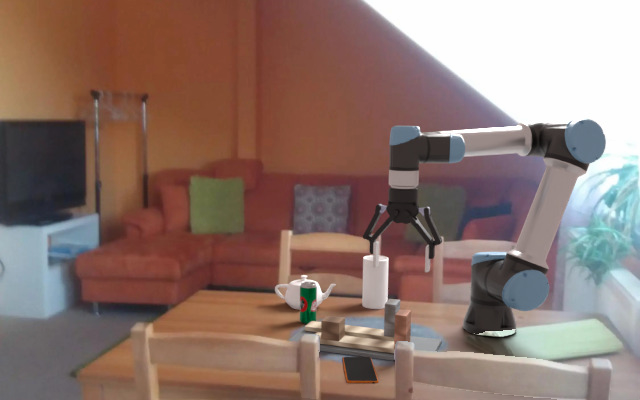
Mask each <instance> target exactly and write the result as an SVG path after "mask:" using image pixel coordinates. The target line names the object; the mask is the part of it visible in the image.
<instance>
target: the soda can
mask: <svg viewBox="0 0 640 400" xmlns="http://www.w3.org/2000/svg"><path fill="white" fill-rule="evenodd" d="M317 308H318V307H317V286H316V283H315V282H310V281H306V282H302V283H301V286H300V310H299V321H300V323H301V324H304V325H307V324H308V323H310V322H311V321H317V312H318V311H317Z"/></svg>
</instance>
